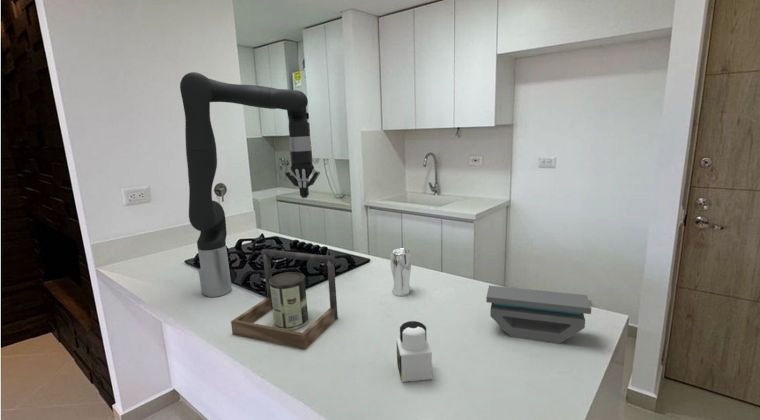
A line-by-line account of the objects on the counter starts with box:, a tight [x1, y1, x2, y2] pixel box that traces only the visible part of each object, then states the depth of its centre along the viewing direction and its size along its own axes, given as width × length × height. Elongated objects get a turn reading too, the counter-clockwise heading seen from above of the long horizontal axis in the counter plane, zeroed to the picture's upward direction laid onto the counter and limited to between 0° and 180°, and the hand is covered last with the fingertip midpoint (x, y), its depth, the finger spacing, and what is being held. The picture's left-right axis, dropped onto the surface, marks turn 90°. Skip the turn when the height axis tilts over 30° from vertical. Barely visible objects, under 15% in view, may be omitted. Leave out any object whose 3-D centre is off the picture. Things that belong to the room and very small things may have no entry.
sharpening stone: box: [485, 285, 592, 345], centre depth 105 cm, size 25×8×11 cm, turn 70°
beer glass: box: [390, 247, 412, 297], centre depth 134 cm, size 7×7×15 cm
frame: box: [230, 248, 339, 350], centre depth 114 cm, size 18×25×20 cm
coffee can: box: [269, 271, 309, 331], centre depth 117 cm, size 10×10×14 cm
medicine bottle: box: [396, 320, 433, 383], centre depth 91 cm, size 7×7×12 cm
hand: (304, 197), depth 143 cm, fingers closed
